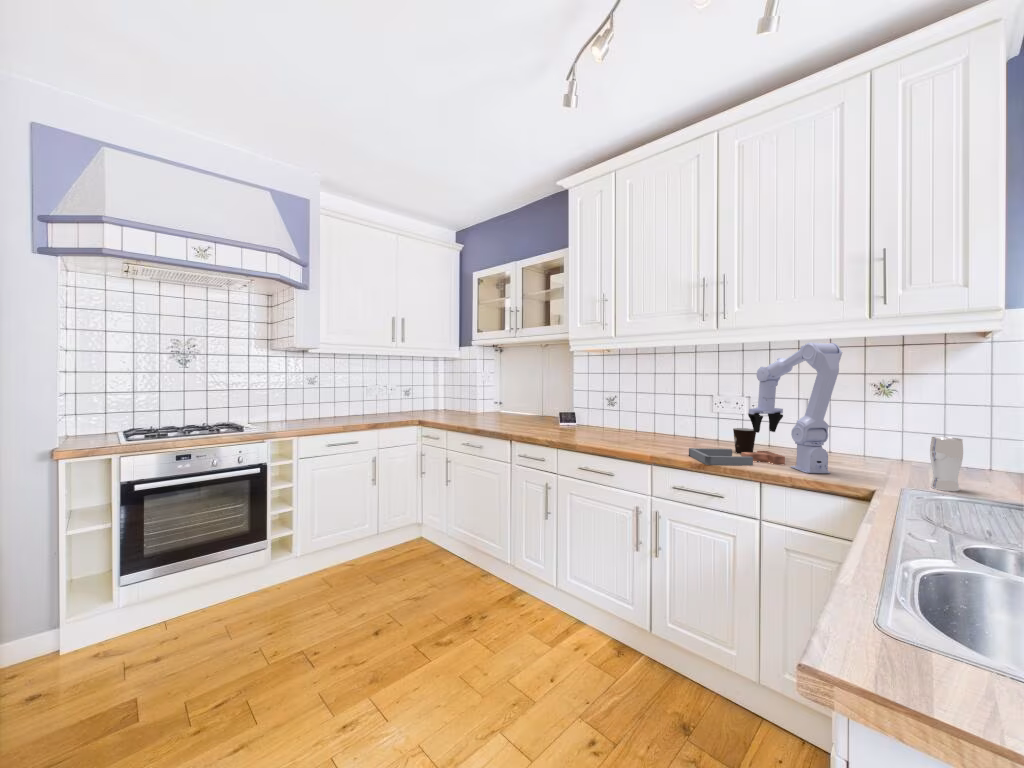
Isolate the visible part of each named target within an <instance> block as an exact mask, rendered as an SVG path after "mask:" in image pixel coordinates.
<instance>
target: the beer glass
mask: <svg viewBox="0 0 1024 768" xmlns="http://www.w3.org/2000/svg"><path fill="white" fill-rule="evenodd" d="M963 440H964V439H963V438H959V437H958V438H957V437H951V436H950V437H949V436H931V441H930V448H929V457H930V464H931V468H932V469H931V470H932V480H931V483H930V487H931V488H932V489H934V490H938V491H943V492H950V493H952V492H953V493H959V492H960V490H961V489H960V486H959V485H960V484H959V475H960V471H961V467H962V464H963V460H964V443H963V442H964V441H963Z"/></svg>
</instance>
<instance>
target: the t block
mask: <svg viewBox="0 0 1024 768" xmlns="http://www.w3.org/2000/svg"><path fill="white" fill-rule="evenodd" d="M740 456H742V457H753V461H760V462H759V463H768V462H770V463H769V464H771V463H773V464H772V465H774V464H786V463H785V462H786V456H784V455H781V454H778V453H776V452H772V451H769V450H757V452H755V451H753V452H741V454H740Z"/></svg>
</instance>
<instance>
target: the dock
mask: <svg viewBox="0 0 1024 768" xmlns="http://www.w3.org/2000/svg"><path fill="white" fill-rule="evenodd" d="M689 455H690V456H689ZM688 456H689V457H691V458H692V459H694V458H695V460H696V459H697V461H698V462H700V463H702V464H704V465H706V466H742V465H753V466H754V462H753V457H742V456H741V455H740V456H739V455H738V456H734V455H733V449H731V448H708V447H707V448H704V447H703V448H701V447H699V448H698V447H697V448H696V447H689V448H688Z"/></svg>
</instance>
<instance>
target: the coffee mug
mask: <svg viewBox="0 0 1024 768" xmlns="http://www.w3.org/2000/svg"><path fill="white" fill-rule="evenodd" d="M732 430H733V440H734V450H735V453H736V452H737V453H736V454H738V453H741V452H754V449H755V441H756V435H757V432H754V430H753V428H747V427H734V428H733V429H732Z"/></svg>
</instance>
